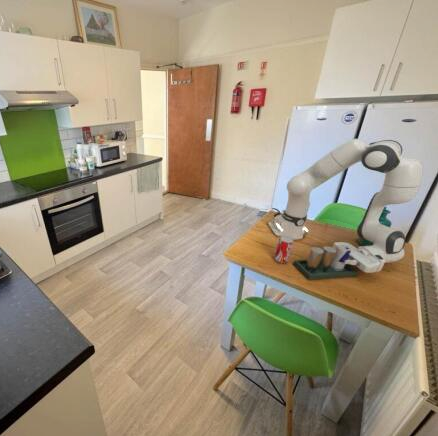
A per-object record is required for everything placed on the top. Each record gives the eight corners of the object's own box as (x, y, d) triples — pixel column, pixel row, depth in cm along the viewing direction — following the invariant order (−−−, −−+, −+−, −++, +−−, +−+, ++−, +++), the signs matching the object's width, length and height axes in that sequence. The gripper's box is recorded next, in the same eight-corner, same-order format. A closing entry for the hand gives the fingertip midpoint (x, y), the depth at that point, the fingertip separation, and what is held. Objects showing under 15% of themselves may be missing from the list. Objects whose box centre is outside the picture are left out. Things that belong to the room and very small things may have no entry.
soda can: (270, 255, 129) (276, 235, 123) (284, 255, 128) (290, 235, 122) (276, 264, 122) (282, 242, 116) (291, 263, 122) (297, 242, 116)
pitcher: (380, 250, 130) (398, 214, 120) (361, 247, 133) (377, 212, 123) (373, 240, 138) (389, 206, 128) (355, 238, 141) (370, 204, 131)
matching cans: (302, 267, 119) (308, 247, 113) (323, 265, 119) (330, 245, 114) (308, 273, 114) (316, 253, 109) (330, 272, 115) (339, 251, 109)
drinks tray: (293, 264, 122) (294, 260, 121) (337, 260, 123) (338, 257, 122) (308, 279, 112) (310, 275, 110) (356, 275, 113) (358, 271, 112)
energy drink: (344, 271, 115) (353, 251, 109) (332, 270, 116) (340, 250, 110) (339, 264, 119) (347, 245, 114) (327, 263, 120) (335, 244, 115)
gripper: (350, 238, 123) (324, 240, 122) (388, 262, 105) (359, 265, 104) (346, 248, 126) (321, 250, 125) (382, 274, 108) (353, 276, 107)
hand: (338, 257), depth 114 cm, fingers closed on energy drink, 5 cm apart
